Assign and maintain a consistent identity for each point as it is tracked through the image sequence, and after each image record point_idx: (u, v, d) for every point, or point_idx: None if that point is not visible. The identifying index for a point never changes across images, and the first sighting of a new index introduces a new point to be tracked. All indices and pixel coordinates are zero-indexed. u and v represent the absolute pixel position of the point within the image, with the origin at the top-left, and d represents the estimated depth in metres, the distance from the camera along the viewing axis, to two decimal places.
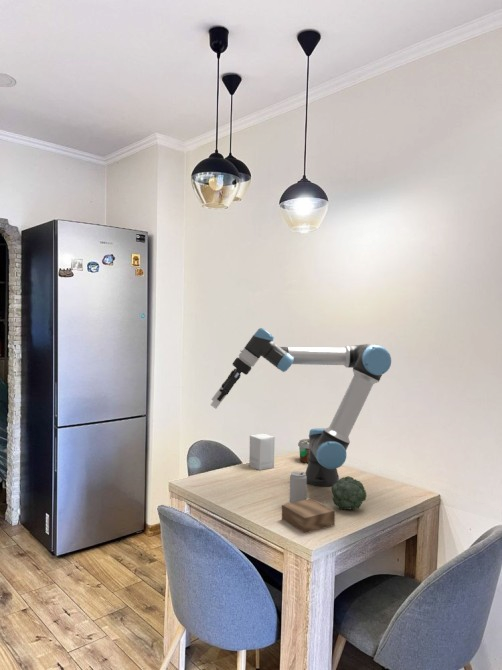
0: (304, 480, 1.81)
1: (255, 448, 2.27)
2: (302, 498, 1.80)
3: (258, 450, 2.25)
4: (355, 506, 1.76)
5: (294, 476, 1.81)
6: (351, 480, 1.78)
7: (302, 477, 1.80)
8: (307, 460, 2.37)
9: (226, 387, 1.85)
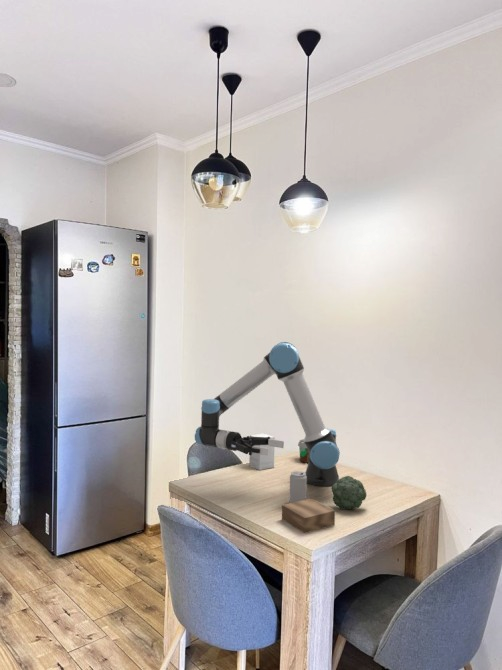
0: (304, 480, 1.81)
1: None
2: (302, 498, 1.80)
3: None
4: (355, 506, 1.77)
5: (294, 476, 1.81)
6: (351, 480, 1.79)
7: (302, 477, 1.80)
8: (307, 460, 2.37)
9: (243, 451, 1.83)
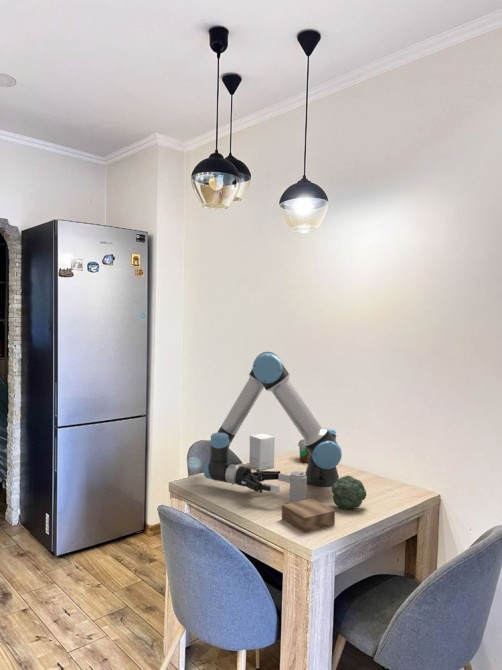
0: (304, 480, 1.81)
1: (255, 448, 2.27)
2: (302, 498, 1.80)
3: (258, 450, 2.25)
4: (355, 505, 1.77)
5: (294, 476, 1.81)
6: (351, 479, 1.79)
7: (302, 477, 1.80)
8: (307, 460, 2.37)
9: (253, 488, 1.81)
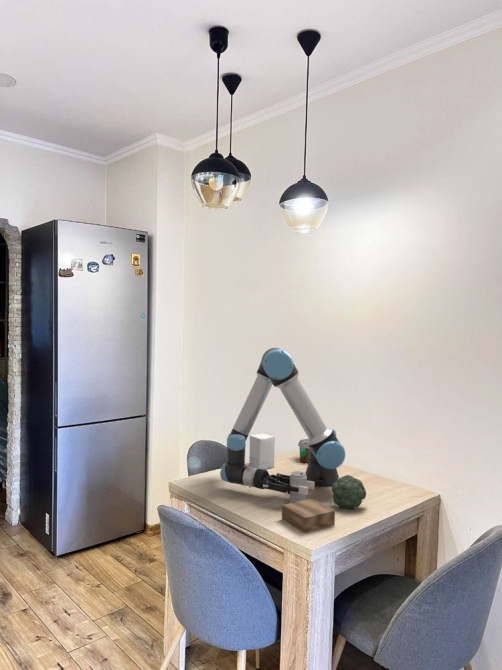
0: (304, 480, 1.80)
1: (255, 448, 2.27)
2: (302, 498, 1.80)
3: (258, 450, 2.25)
4: (355, 504, 1.78)
5: (294, 476, 1.81)
6: (351, 479, 1.80)
7: (302, 477, 1.80)
8: (307, 460, 2.37)
9: (280, 490, 1.79)
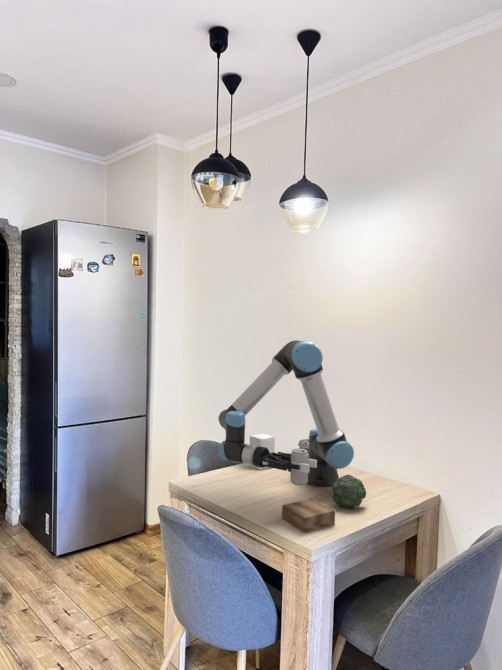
0: (306, 457, 1.71)
1: None
2: (303, 476, 1.71)
3: None
4: (355, 504, 1.78)
5: (295, 453, 1.71)
6: (351, 478, 1.80)
7: (303, 454, 1.71)
8: None
9: (281, 468, 1.70)
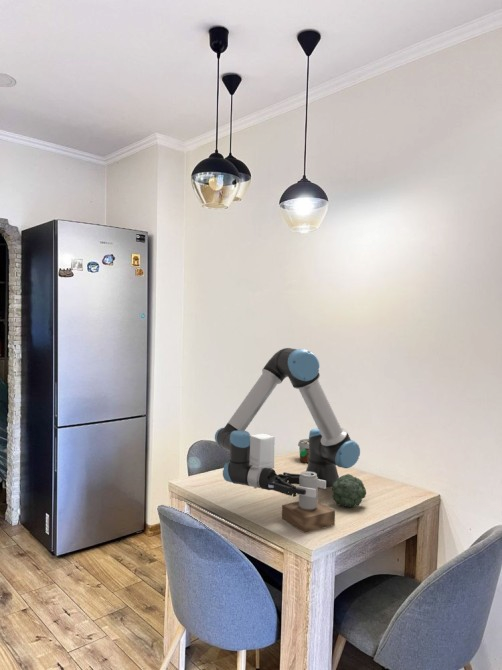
0: (315, 481, 1.64)
1: (255, 448, 2.27)
2: (313, 501, 1.64)
3: (258, 450, 2.25)
4: (355, 503, 1.79)
5: (304, 477, 1.64)
6: (351, 478, 1.81)
7: (313, 478, 1.64)
8: (307, 460, 2.37)
9: (286, 492, 1.62)
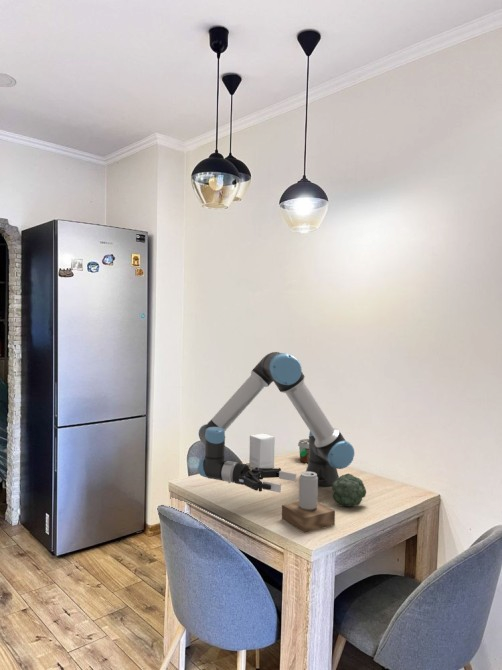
0: (315, 481, 1.64)
1: (255, 448, 2.27)
2: (313, 501, 1.64)
3: (258, 450, 2.25)
4: (355, 503, 1.80)
5: (304, 477, 1.64)
6: (351, 477, 1.82)
7: (313, 478, 1.64)
8: (307, 460, 2.37)
9: (252, 487, 1.66)
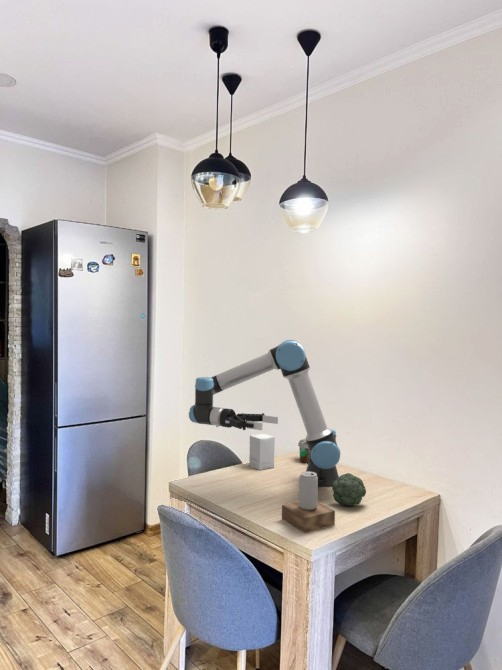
0: (315, 481, 1.64)
1: (255, 448, 2.27)
2: (313, 501, 1.64)
3: (258, 450, 2.25)
4: (355, 502, 1.80)
5: (304, 477, 1.64)
6: (351, 477, 1.82)
7: (313, 478, 1.64)
8: (307, 460, 2.37)
9: (236, 426, 1.83)
